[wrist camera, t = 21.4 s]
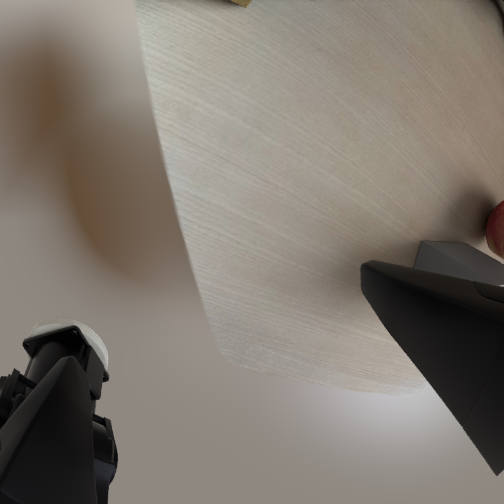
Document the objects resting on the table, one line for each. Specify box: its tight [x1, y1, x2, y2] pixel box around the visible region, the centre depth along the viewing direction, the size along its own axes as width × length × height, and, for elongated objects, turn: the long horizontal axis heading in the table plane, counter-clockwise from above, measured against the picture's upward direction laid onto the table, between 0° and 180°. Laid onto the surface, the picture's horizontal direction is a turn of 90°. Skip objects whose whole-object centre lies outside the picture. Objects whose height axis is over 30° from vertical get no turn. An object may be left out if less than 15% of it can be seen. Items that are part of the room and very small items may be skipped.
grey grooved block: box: [414, 241, 504, 287], centre depth 25 cm, size 8×6×10 cm
